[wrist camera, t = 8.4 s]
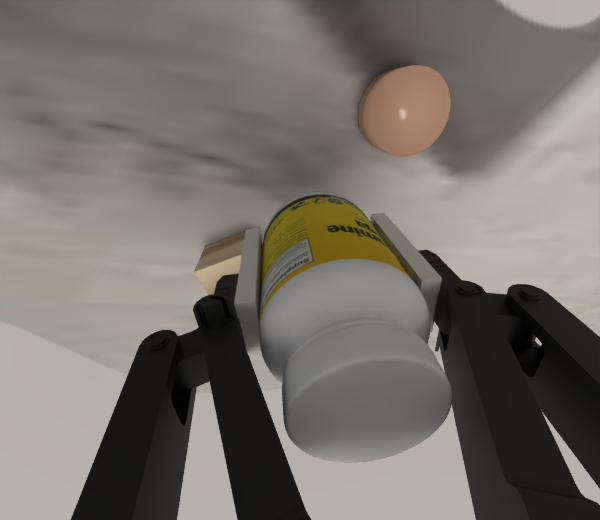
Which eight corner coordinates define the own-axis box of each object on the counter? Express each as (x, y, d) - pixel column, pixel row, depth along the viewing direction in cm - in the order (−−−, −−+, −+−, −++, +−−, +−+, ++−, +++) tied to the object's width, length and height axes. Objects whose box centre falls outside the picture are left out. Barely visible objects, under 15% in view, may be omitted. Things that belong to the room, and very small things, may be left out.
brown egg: (357, 72, 24) (370, 69, 21) (433, 64, 24) (456, 60, 21) (357, 152, 27) (368, 160, 24) (424, 145, 27) (444, 152, 24)
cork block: (205, 245, 30) (193, 272, 25) (252, 228, 29) (248, 251, 25) (228, 285, 32) (221, 315, 28) (272, 269, 32) (272, 297, 27)
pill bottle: (389, 233, 18) (524, 402, 8) (317, 299, 20) (361, 495, 10) (314, 163, 16) (387, 288, 6) (240, 245, 18) (208, 438, 8)
